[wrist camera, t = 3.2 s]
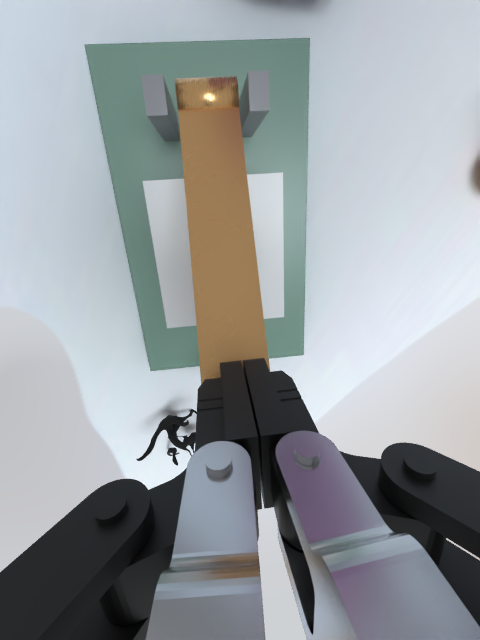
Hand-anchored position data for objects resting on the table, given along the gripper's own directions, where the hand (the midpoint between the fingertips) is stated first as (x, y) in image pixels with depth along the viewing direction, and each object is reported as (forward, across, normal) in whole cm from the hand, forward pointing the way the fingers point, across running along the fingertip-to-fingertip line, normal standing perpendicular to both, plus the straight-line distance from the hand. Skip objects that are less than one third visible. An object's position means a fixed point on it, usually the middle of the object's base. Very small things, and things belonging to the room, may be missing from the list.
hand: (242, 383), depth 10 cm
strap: (+7, 0, -4) cm, 8 cm away
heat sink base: (+17, 0, -4) cm, 17 cm away
